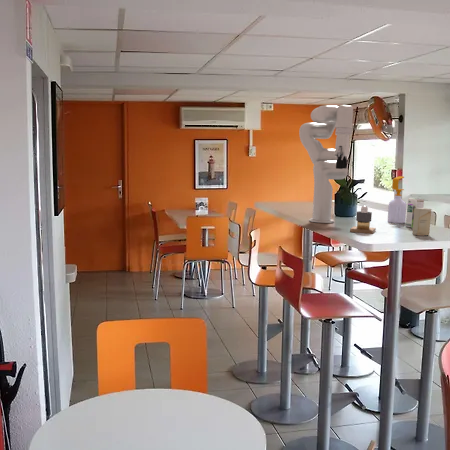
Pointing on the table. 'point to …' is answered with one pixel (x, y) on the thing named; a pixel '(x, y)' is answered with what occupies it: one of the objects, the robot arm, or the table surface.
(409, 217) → the syrup box
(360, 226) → the post stand
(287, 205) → the table surface
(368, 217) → the ring
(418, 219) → the skincare box
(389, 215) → the soap bottle
